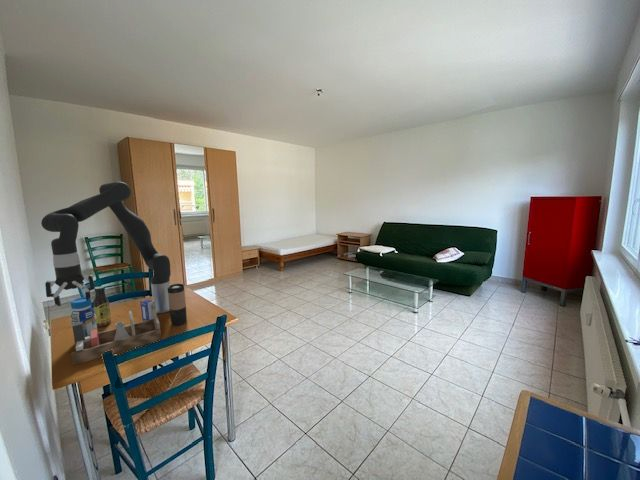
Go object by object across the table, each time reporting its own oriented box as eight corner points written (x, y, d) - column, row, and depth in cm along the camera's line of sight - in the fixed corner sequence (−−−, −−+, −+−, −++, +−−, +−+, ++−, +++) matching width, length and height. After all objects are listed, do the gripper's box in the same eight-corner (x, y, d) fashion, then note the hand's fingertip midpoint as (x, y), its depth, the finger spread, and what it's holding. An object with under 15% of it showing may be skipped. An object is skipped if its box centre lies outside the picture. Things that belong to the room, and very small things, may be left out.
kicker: (99, 341, 121) (95, 314, 119) (99, 356, 111) (94, 326, 108) (79, 347, 117) (74, 318, 114) (76, 362, 106) (71, 331, 104)
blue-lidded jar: (73, 341, 123) (66, 300, 119) (97, 333, 129) (91, 294, 125) (76, 348, 117) (69, 305, 114) (101, 340, 123) (94, 299, 120)
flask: (119, 339, 124) (116, 319, 122) (135, 339, 125) (132, 319, 123) (108, 348, 117) (105, 327, 115) (125, 347, 117) (122, 327, 116)
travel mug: (189, 322, 141) (186, 286, 137) (174, 327, 135) (170, 290, 131) (184, 317, 146) (180, 282, 142) (168, 322, 140) (165, 286, 137)
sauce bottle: (102, 327, 135) (97, 290, 131) (92, 326, 136) (86, 289, 132) (115, 321, 141) (109, 285, 137) (105, 320, 142) (99, 285, 139)
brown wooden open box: (157, 327, 135) (154, 305, 133) (161, 339, 124) (158, 315, 122) (76, 349, 116) (71, 323, 114) (73, 365, 106) (68, 337, 103)
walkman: (142, 321, 141) (139, 300, 139) (147, 319, 143) (145, 298, 141) (152, 324, 138) (150, 302, 136) (157, 322, 140) (155, 300, 138)
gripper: (91, 259, 113) (96, 295, 116) (43, 265, 104) (50, 304, 107) (90, 263, 107) (96, 301, 110) (39, 269, 98) (47, 310, 101)
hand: (73, 302), depth 108 cm, fingers open, 8 cm apart
